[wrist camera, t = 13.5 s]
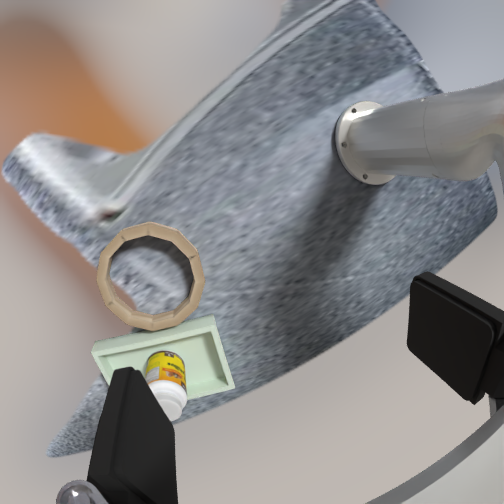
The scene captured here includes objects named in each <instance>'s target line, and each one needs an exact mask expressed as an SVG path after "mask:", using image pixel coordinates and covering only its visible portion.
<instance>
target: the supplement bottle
mask: <svg viewBox="0 0 504 504" xmlns="http://www.w3.org/2000/svg"><path fill="white" fill-rule="evenodd" d="M145 380H146V382H147V384H148V385H149V387H150V389H151V391H152V392H153V394H154V396H155V397H156V399H157V401H158V402H159V404H160V406H161V407H162V409H163V411H164V412H165V414H166V415H167V417H168V418H169V420H170V421H174V420H176V419H178V418H179V417H180V416H181V413H182V409H183V408H184V406H185V405H186V403H187V389H186V375H185V364H184V361H183V359H182V358H181V356H180V355H178V354H177V353H176V352H173V351H171V350H158V351H156V352H154V353H152V354H151V355H150V357H149V358H148V361H147V367H146V375H145Z"/></svg>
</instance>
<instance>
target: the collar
mask: <svg viewBox="0 0 504 504" xmlns="http://www.w3.org/2000/svg"><path fill="white" fill-rule="evenodd" d="M146 235H150V236H154V237H157V238H161V239H164V240H168V241H172V242H173V243H174V244H175V245H176V246H177V247H178V248H179V249H180V250H181V251H182V252H183V253H184V254H185V255H186V256H187V257H188V258H189V260H190V264H191V268H192V271H193V275H194V279H193V283H192V286H191V290H190V293H189V296H188V297H187V298H186V299H185V300H184V301H183V302H182V303H181V304H180V305H179V306H178V307H177V308H175V309H174V310H173V311H169V312H164V313H160V314H156V315H150V314H146V313H142V312H139V311H135V310H132V309H131V308H130V307H129V306H127V305H126V304H125V303H124V302H123V301H122V300H121V299H120V298H119V297H118V296H117V295H116V293H115V290H114V287H113V285H112V282H111V279H110V276H109V273H110V267H111V262H112V257H113V253H114V252H115V251H116V250H117V249H118V248H119V247H120V246H121V245H122V244H123V243H124V241H127V240H131V239H135V238H138V237H142V236H146ZM96 282H97V284H98V287H99V290H100V293H101V295H102V298H103V300H104V303H105V306H106V307H107V308H108V309H109V310H110V311H112V312H113V313H114V314H115V315H116V316H117V317H118V318H120V319H121V320H122V321H123V322H124V323H125V324H127V325H130V326H134V327H138V328H142V329H146V330H150V331H152V330H153V331H156V330H160V329H164V328H168V327H173V326H177V325H179V324H180V323H181V322H182V321H183V320H185V319H186V318H187V317H188V316H189V315H190V314H191V313H192V312H193V311H194V310H195V309H196V308H198V305H199V301H200V298H201V295H202V291H203V288H204V285H205V278H204V274H203V270H202V266H201V262H200V258H199V254H198V250H197V249H196V248H195V247H194V246H193V245H192V244H191V243H190V241H189V240H188V239H187V238H186V237H185V236H184V235H183V234H182V233H181V232H180V231H179V230H177V229H175V228H171V227H168V226H164V225H161V224H157V223H154V222H146V223H142V224H139V225H135V226H132V227H128V228H124V229H123V230H121V231H120V232H119V233H118V234H117V235H116V237H115V238H114V239H113V240H112V241H111V242H110V243H109V244H108V245H107V247H106V248H105V249H104V250H103V251H102V252H101V254H100V260H99V265H98V271H97V278H96Z"/></svg>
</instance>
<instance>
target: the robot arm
mask: <svg viewBox="0 0 504 504" xmlns="http://www.w3.org/2000/svg"><path fill="white" fill-rule="evenodd" d="M335 141H336V148H337V152H338V155H339V158H340V160H341V162H342V164H343V165H344V167H345V168H346V170H347V171H348V172H349V173H350V174H351V175H352V176H353V177H354V178H356V179H357V180H359V181H361V182H363V183H366V184H371V185H380V184H384V183H387V182H389V181H390V180H392V179H393V178H394V177H395V176H396V175H397V176H411V177H424V178H435V179H445V180H454V181H470V180H473V179H476V178H478V177H480V176H481V175H482V174H484V173H485V172H486V171H487V169H489V167H490V166H491V165H492V164H493V163H494V161H496V162H497V164H498V167H499V170H500V176H501V180H502V185H503V193H504V78H503V79H500V80H497V81H494V82H491V83H488V84H484V85H480V86H477V87H473V88H468V89H463V90H459V91H454V92H448V93H443V94H438V95H432V96H427V97H423V98H418V99H413V100H409V101H404V102H400V103H396V104H392V105H387V106H382V105H380V104H378V103H375V102H371V101H362V102H358V103H355V104H353V105H351V106H349V107H348V108H347V109H346V110H344V112H343V113H342V115H341V116H340V118H339V120H338V123H337V127H336V133H335ZM407 346H408V348H409V350H410V351H411V352H412V353H413V354H414V355H415V356H416V357H417V358H419V359H420V360H421V361H422V362H423V363H424V364H425V365H427V366H428V367H429V368H430V369H431V370H432V371H433V372H435V373H436V374H437V375H438V376H439V377H440V378H441V379H442V380H443V381H445V382H446V383H447V384H448V385H449V386H450V387H451V388H452V389H453V390H454V391H456V392H457V393H458V394H459V395H460V396H461V397H462V398H463V399H465V400H467V401H468V400H469V401H470V402H471V403H472V404H474V405H475V404H476V403H477V402H478V401H480V400H481V399H482V398H483V397H484V395H485V392H486V393H487V394H488V395H489V405H490V416H491V418H490V419H489V420H488V421H487V422H486V423H484V424H483V425H482V426H481V427H480V428H479V429H478V430H477V431H476V432H474V433H473V434H472V435H471V436H469V437H468V438H467V439H466V440H465V441H463V442H462V443H461V444H460V445H458V446H457V447H456V448H455V449H453V450H452V451H451V452H449V453H448V454H447V455H445V456H444V457H443V458H441V459H440V460H438V461H437V462H436V463H434V464H433V465H431V466H430V467H428V468H427V469H426V470H424V471H422V472H421V473H419V474H418V475H416V476H414V477H413V478H411V479H410V480H408V481H406V482H405V483H403V484H401V485H399V486H398V487H396V488H394V489H392V490H390V491H389V492H387V493H385V494H383V495H381V496H379V497H377V498H375V499H373V500H371V501H369V502H367V503H365V504H504V311H503V310H501V309H499V308H497V307H495V306H494V305H491V304H490V303H488V302H486V301H484V300H483V299H481V298H479V297H477V296H475V295H473V294H471V293H469V292H467V291H466V290H464V289H462V288H460V287H458V286H456V285H454V284H452V283H450V282H448V281H446V280H444V279H442V278H440V277H438V276H436V275H434V274H432V273H430V272H424V273H422V274H420V275H418V276H415V277H414V278H413V281H412V283H411V285H410V306H409V323H408V335H407ZM56 504H178V496H177V481H176V462H175V432H174V428H173V425H172V423H171V422H170V420H169V418H168V417H167V415H166V414H165V412H164V411H163V409H162V407H161V406H160V404H159V402H158V401H157V399H156V397H155V396H154V394H153V392H152V391H151V389H150V387H149V385H148V384H147V382H146V380H145V378H144V377H143V375H142V373H141V371H140V370H135V369H134V368H133V367H131V366H130V367H125V368H119V369H115V370H114V372H113V375H112V378H111V382H110V385H109V389H108V393H107V396H106V400H105V404H104V407H103V411H102V414H101V416H100V420H99V424H98V428H97V432H96V437H95V441H94V446H93V450H92V455H91V460H90V465H89V470H88V476H87V481H84V480H75V481H71V482H69V483H67V484H66V485H64V486H63V487H62V488H61V490H60V491H59V493H58V495H57V499H56Z"/></svg>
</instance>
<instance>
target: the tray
mask: <svg viewBox="0 0 504 504" xmlns="http://www.w3.org/2000/svg"><path fill="white" fill-rule="evenodd" d="M158 350H171V351H173V352H176V353H177V354H178V355H180V356H181V358H182V359H183V361H184V364H185V375H186V389H187V400H189V399H193V398H198V397H202V396H206V395H210V394H215V393H219V392H223V391H226V390H230V389H234V388H235V385H234V382H233V379H232V375H231V372H230V369H229V366H228V363H227V359H226V356H225V353H224V350H223V346H222V343H221V340H220V336H219V333H218V330H217V326H216V323H215V319H214V316H213V314H211V315H207V316H203V317H199V318H195V319H191V320H187V321H183V322H181V323H180V324H179V325H177V326H173V327H168V328H164V329H160V330H156V331H153V330H152V331H150V330H145V331H141V332H137V333H132V334H127V335H123V336H118V337H113V338H109V339H104V340H99V341H96V342H95V344H94V346H93V348H92V351H91V354H92V356H93V358H94V360H95V361H96V363H97V365H98V367H99V369H100V371H101V373H102V374H103V376H104V378H105V380H106V381H107V383H108V385H110V382H111V378H112V375H113V372H114V370H115V369H119V368H125V367H130V366H131V367H133V368H134V369H135V370H140V371H141V373H142V375H143V377H144V378H145V375H146V367H147V361H148V358H149V357H150V355H151V354H152V353H154V352H156V351H158Z"/></svg>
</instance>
